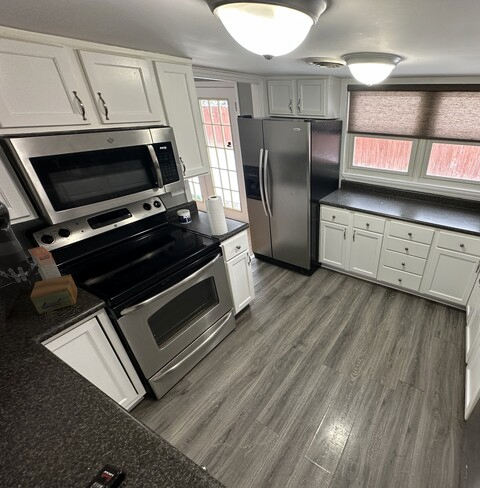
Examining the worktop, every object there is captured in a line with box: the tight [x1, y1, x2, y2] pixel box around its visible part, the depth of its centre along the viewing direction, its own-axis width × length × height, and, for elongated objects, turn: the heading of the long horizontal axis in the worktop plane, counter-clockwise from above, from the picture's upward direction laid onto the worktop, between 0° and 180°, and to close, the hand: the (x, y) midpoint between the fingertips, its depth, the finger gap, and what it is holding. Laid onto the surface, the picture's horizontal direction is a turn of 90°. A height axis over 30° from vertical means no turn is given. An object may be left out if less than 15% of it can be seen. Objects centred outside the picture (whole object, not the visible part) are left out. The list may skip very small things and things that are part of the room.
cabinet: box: [29, 273, 78, 315], centre depth 127 cm, size 15×13×10 cm
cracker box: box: [27, 245, 62, 281], centre depth 136 cm, size 14×6×21 cm, turn 56°
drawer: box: [31, 290, 74, 314], centre depth 124 cm, size 18×11×8 cm, turn 37°
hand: (27, 288), depth 109 cm, fingers closed
